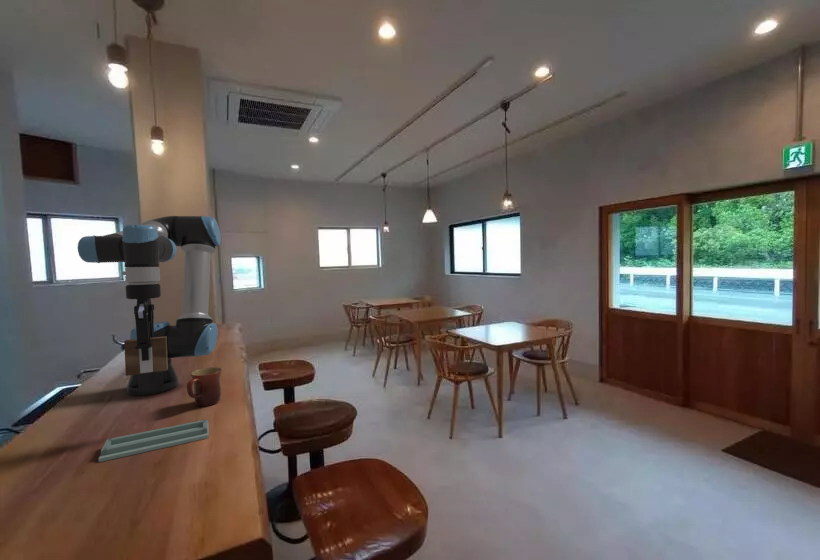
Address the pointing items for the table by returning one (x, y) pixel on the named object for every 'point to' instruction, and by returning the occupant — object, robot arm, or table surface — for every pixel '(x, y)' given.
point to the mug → (205, 386)
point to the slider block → (157, 355)
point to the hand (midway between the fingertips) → (147, 370)
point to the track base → (154, 440)
